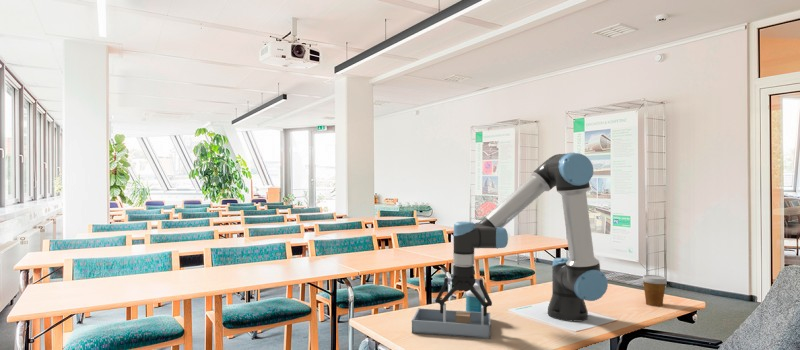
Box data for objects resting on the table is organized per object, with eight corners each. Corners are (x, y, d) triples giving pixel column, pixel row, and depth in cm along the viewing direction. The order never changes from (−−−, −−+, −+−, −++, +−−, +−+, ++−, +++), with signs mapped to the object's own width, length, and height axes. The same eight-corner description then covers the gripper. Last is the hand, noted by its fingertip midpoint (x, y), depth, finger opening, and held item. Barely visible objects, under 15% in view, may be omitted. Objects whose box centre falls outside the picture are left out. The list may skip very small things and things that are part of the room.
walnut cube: (469, 330, 165) (469, 316, 165) (455, 329, 166) (455, 315, 166) (470, 325, 170) (470, 312, 170) (456, 324, 171) (456, 311, 171)
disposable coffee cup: (643, 300, 209) (643, 273, 209) (668, 303, 204) (668, 276, 204) (640, 305, 202) (640, 277, 202) (665, 308, 196) (665, 280, 196)
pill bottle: (485, 322, 176) (485, 286, 176) (465, 321, 178) (465, 285, 178) (485, 316, 184) (485, 282, 184) (466, 315, 185) (466, 281, 185)
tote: (490, 324, 174) (490, 312, 174) (490, 338, 159) (490, 325, 159) (418, 319, 179) (418, 308, 179) (411, 333, 164) (411, 320, 164)
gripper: (498, 264, 169) (498, 322, 169) (430, 261, 174) (430, 318, 174) (499, 268, 162) (498, 329, 162) (428, 265, 167) (427, 324, 167)
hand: (463, 323), depth 168 cm, fingers open, 13 cm apart
